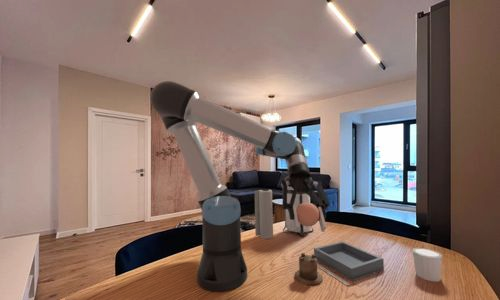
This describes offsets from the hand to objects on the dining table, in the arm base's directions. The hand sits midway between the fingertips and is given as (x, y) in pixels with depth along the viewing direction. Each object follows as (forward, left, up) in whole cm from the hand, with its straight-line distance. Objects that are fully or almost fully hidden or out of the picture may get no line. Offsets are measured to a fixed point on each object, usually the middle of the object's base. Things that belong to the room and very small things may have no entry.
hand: (310, 229), depth 61 cm
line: (+9, +5, -15) cm, 18 cm away
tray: (+18, +4, -15) cm, 24 cm away
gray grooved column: (+6, +39, -16) cm, 43 cm away
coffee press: (+24, +38, -16) cm, 48 cm away
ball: (+1, +3, 0) cm, 4 cm away
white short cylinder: (+33, -12, -16) cm, 39 cm away
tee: (+1, +3, -15) cm, 16 cm away
